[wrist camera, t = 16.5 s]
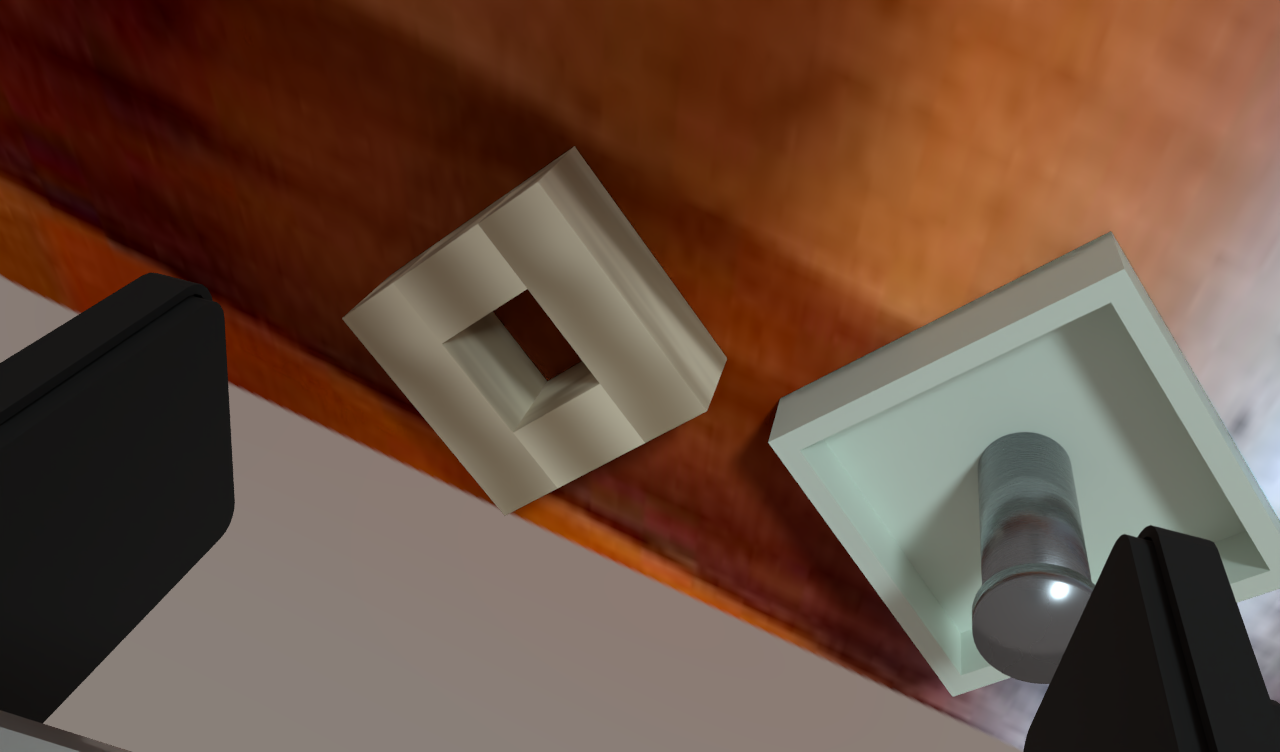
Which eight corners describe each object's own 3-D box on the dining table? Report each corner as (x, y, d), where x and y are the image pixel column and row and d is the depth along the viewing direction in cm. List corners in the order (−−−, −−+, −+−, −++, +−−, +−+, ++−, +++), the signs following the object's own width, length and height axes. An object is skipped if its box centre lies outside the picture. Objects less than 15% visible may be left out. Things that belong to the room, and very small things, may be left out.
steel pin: (1049, 406, 48) (1072, 561, 38) (1101, 489, 49) (1137, 659, 39) (948, 451, 50) (947, 608, 40) (1001, 529, 51) (1012, 699, 42)
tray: (1111, 231, 44) (1124, 268, 41) (1281, 523, 49) (1306, 579, 45) (780, 398, 52) (768, 442, 48) (952, 640, 56) (952, 696, 52)
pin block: (574, 146, 48) (538, 181, 44) (727, 358, 51) (707, 410, 47) (390, 275, 54) (341, 318, 50) (538, 460, 57) (504, 515, 53)
